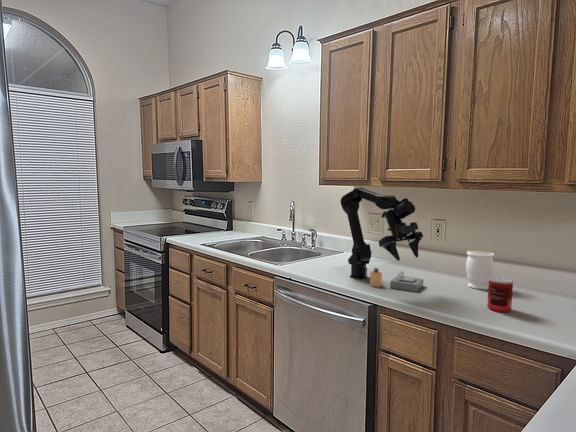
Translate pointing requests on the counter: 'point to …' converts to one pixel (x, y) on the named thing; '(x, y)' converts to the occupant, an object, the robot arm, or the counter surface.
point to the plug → (375, 278)
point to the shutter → (405, 277)
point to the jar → (479, 268)
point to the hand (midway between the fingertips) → (408, 258)
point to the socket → (406, 284)
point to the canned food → (500, 294)
